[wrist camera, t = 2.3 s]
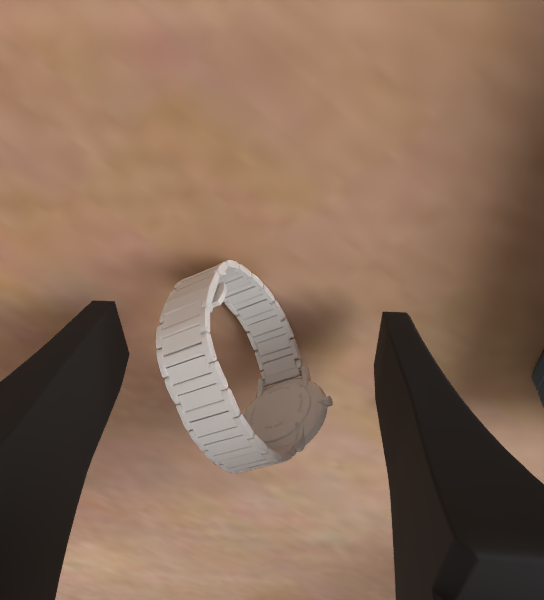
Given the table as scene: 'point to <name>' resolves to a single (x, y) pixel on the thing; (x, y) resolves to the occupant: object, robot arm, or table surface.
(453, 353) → the table surface
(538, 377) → the tray
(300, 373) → the wristwatch
